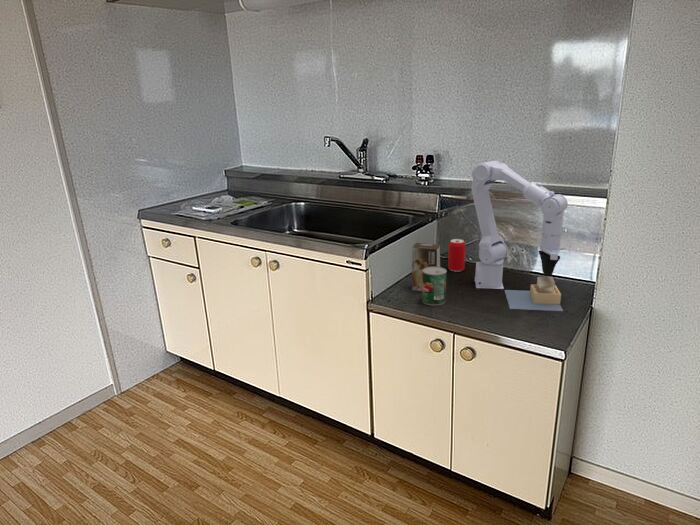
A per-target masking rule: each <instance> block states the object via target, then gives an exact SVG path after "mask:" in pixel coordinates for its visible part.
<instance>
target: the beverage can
mask: <svg viewBox="0 0 700 525" xmlns="http://www.w3.org/2000/svg"><path fill="white" fill-rule="evenodd" d="M465 261H466V243H465V240H464V239H460V238H454V239H453V238H452V239H450V241H449V244H448V264H447V268H448V270H449V271H451V272H453V271H454V273H460V272H462V271H464V270H465Z"/></svg>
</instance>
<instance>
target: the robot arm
mask: <svg viewBox="0 0 700 525" xmlns="http://www.w3.org/2000/svg"><path fill="white" fill-rule="evenodd" d="M471 177H472V181H471V187H470V188H471V194H472V198H473V203H474V208H475V211H476V216H477V220H478V225H479V229H480V234H481V239H480V240H479V243H478V247H479V248H478V258H479V260H480V261H476V263H475V273H474V274H475V275H474V282H475V284H474V285H475V288H476V289H495V290H496V289H497V290H499V289H500V290H505V287H504V284H503V272H504V261H505V258H506V257H507V256H508V253H509V250H508V246H507V245H506V243H505V241H504V238H503V236H501V235H500V234H499V233H498V228H497V223H496V219H495V214H494V210H493V206H492V201H491V196H490V193H489V192H490V191H489V190H490V188H491V187H492V185H493V184H494V183H495V182H496V181H504V182H505V183H508V184H509V185H511V186H513V187H514V188H516V189H518V190H519V191H521V192H522V194H523V197H524V199H526V200H529V201H530V202H531V203H533V204H534V205H535V206H537V207H538V208H540V211H541V212H542V214H543V217H542V218H543V219H542V226H541V227H542V228H541V235H540V236H541V238H540V245H539V250H538V251H537V252H538V254H539V257H540V261H541V269H542V273H543V275H544V277H553V274H554V271H555V268H556V265H557V264H558V262H559V261H560V260H561V256H560V255H559V253H560V251H564V250H565V249H564V246H561V239H562V229H563V223H564V222H563V221H564V212H565V211H566V210H567V208H568V200H567V198H566V197H565V196H564V195H563V194H561V193H558V194H555V191H553V190H552V191H550V190H549V189H547V188H545V187H544V186H543V183H541V182H540V181H539V182H536V181H532V182H530V181H528V180H526V179H525V178H524V177H522V176H521V175H520V174H518V173H517V172H515V171H514V170H512V169H511V168H510V167H509V166H508V164H506V163H503V162H502V161H501V160H498V159H495V160H491V161H486V162H479V163H477V164H476V165H475V166H474V168H473V169H472V171H471Z"/></svg>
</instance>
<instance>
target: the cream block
mask: <svg viewBox="0 0 700 525" xmlns="http://www.w3.org/2000/svg"><path fill="white" fill-rule="evenodd" d="M536 285H537V292H538V293H553V294H554V286H555V285H556V282H555V280H554V277H553V276H537V281H536Z"/></svg>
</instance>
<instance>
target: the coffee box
mask: <svg viewBox="0 0 700 525" xmlns="http://www.w3.org/2000/svg"><path fill="white" fill-rule="evenodd" d="M426 267H441V244H437V243H436V244H435V243H425V242H423V243H422V242H415V244H413V247H412V248H411V286H412V287H411V290H412V291H418V292H422V277H423V276H422V275H423V271H422V270H423V269H424V268H426Z"/></svg>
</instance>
